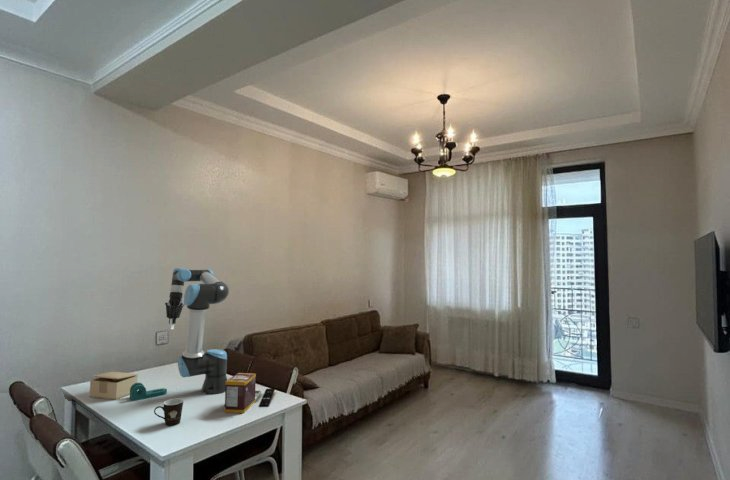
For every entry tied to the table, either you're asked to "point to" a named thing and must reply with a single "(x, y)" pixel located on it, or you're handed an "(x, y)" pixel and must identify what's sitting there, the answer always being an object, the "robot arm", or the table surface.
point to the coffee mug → (171, 411)
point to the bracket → (144, 392)
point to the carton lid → (114, 375)
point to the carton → (111, 387)
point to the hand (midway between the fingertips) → (171, 329)
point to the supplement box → (240, 392)
